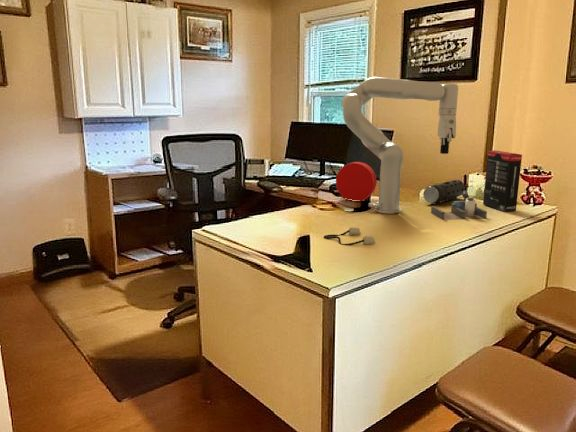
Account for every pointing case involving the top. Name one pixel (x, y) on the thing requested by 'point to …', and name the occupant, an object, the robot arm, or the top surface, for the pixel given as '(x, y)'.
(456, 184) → the muzzle brake
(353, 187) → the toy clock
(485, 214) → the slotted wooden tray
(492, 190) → the graphics card box
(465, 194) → the portable electronic device stand
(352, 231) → the cable
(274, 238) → the top surface
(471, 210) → the cream plastic cylinder
